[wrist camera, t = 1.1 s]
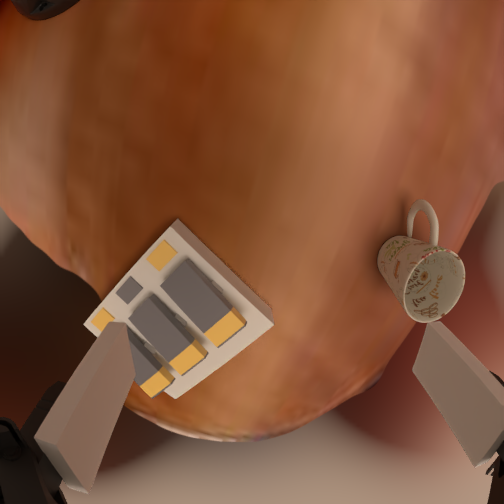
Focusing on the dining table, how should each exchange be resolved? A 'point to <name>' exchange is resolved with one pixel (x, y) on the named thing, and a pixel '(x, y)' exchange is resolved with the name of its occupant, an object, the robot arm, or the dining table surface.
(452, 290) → the mug
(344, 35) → the dining table surface
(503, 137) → the dining table surface
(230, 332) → the rocker
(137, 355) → the rocker
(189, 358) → the rocker
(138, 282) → the switch unit
